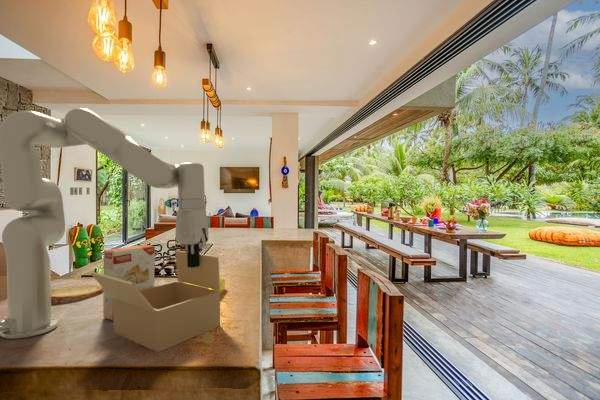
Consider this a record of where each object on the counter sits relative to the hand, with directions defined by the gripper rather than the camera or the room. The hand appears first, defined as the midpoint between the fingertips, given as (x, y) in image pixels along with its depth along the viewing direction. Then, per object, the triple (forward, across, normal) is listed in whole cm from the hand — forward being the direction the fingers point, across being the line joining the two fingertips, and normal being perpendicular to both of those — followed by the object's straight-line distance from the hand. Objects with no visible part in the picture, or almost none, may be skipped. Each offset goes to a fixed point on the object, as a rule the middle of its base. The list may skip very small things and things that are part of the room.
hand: (193, 266), depth 103 cm
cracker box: (+16, -22, -8) cm, 28 cm away
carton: (+16, -1, -8) cm, 18 cm away
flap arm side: (+2, 0, -21) cm, 21 cm away
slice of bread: (+16, -56, -11) cm, 59 cm away
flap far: (+1, -1, +2) cm, 2 cm away
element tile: (+17, -21, +19) cm, 33 cm away
